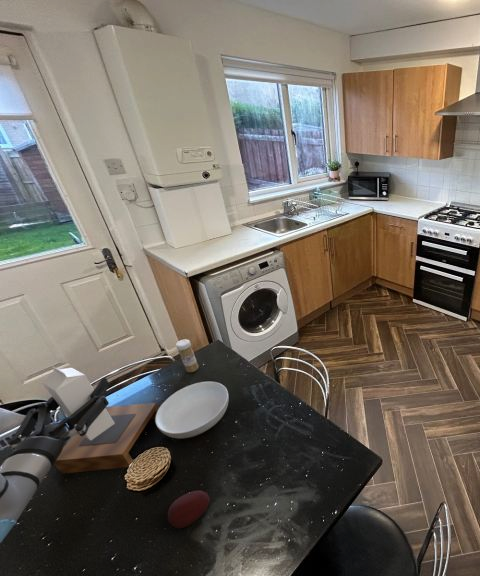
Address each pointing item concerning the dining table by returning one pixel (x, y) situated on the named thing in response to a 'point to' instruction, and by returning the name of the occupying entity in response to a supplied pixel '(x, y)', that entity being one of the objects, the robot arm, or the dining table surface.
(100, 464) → the wooden serving tray
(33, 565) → the dining table surface
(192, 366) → the sprinkles bottle
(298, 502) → the dining table surface
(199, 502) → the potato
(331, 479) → the dining table surface
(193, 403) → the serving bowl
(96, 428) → the milk
